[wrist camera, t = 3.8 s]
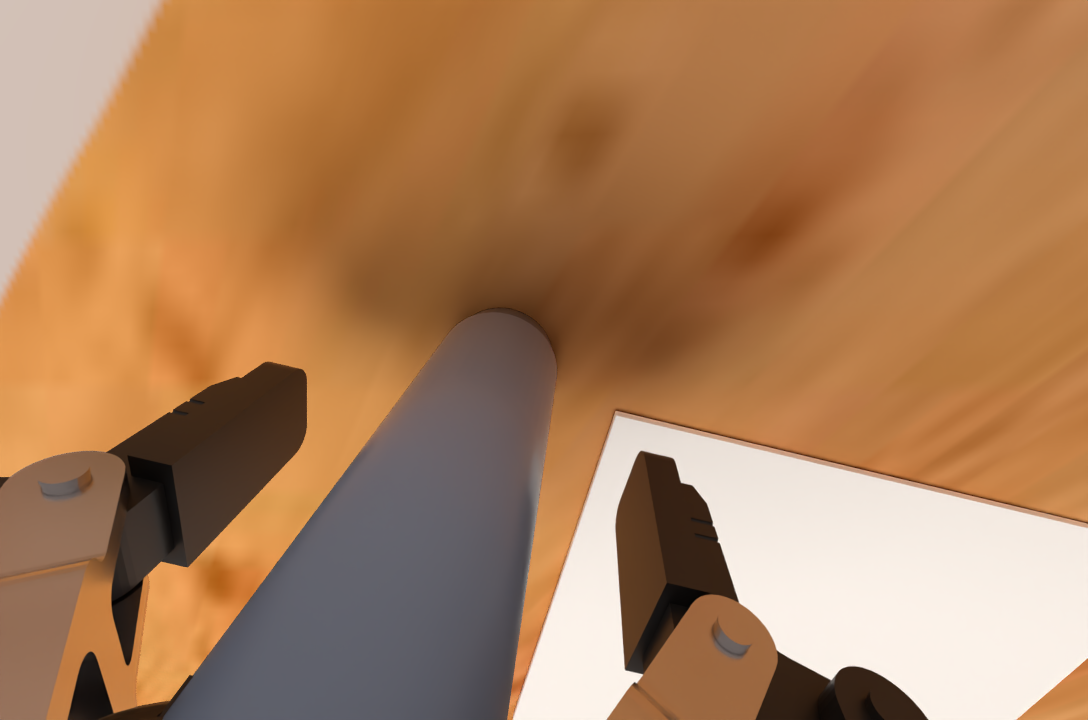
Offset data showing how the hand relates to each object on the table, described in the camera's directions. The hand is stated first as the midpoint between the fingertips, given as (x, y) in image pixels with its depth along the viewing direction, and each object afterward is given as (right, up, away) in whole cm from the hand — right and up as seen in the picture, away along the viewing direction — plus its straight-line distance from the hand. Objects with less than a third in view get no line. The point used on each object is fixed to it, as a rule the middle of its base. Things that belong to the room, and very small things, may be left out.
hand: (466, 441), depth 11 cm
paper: (+12, -10, +9) cm, 18 cm away
